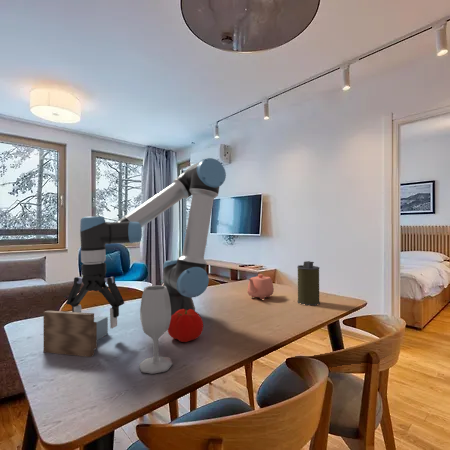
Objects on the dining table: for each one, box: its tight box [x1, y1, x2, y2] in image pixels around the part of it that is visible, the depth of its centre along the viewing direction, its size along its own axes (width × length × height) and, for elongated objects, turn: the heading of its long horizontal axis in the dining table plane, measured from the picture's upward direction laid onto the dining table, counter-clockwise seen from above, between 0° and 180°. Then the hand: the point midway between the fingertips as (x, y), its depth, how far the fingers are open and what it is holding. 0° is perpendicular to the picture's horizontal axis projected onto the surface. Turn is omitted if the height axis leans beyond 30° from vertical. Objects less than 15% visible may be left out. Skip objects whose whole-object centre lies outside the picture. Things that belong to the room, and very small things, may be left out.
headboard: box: [42, 310, 98, 358], centre depth 88 cm, size 16×6×12 cm, turn 78°
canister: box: [297, 260, 321, 306], centre depth 141 cm, size 11×10×20 cm
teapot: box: [246, 273, 275, 300], centre depth 152 cm, size 20×12×12 cm, turn 140°
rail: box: [94, 315, 109, 341], centre depth 95 cm, size 4×15×6 cm, turn 168°
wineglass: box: [138, 284, 173, 375], centre depth 77 cm, size 9×9×21 cm
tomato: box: [167, 309, 204, 343], centre depth 97 cm, size 11×12×9 cm
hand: (95, 326), depth 97 cm, fingers open, 13 cm apart
